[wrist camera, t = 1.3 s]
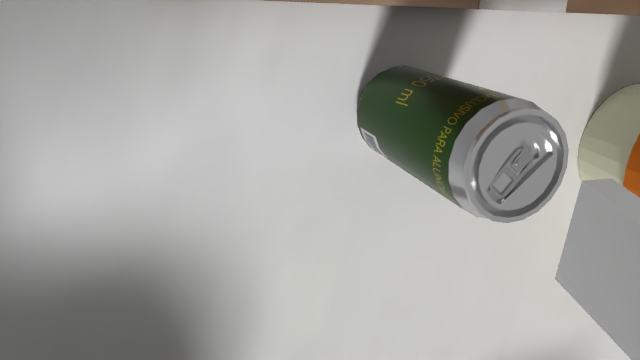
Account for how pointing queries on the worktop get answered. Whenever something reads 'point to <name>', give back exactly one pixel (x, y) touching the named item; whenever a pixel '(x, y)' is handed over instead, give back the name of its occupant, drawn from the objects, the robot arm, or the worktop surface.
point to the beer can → (465, 141)
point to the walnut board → (511, 5)
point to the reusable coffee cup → (613, 141)
